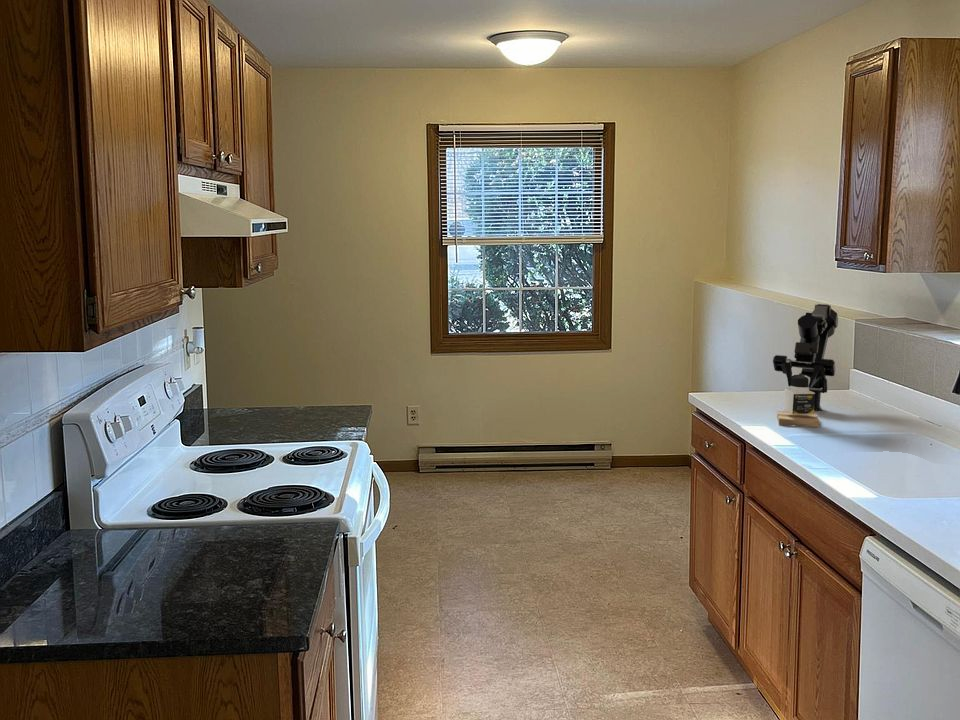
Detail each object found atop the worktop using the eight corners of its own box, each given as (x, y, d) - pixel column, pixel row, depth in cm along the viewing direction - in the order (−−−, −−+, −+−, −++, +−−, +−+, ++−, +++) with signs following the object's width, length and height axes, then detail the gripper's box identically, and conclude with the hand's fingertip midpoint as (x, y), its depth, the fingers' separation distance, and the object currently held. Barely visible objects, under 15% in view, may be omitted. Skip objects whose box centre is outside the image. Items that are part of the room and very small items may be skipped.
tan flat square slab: (776, 417, 313) (777, 411, 313) (815, 419, 310) (815, 413, 310) (779, 425, 302) (779, 418, 301) (819, 427, 299) (819, 421, 298)
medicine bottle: (792, 415, 302) (794, 377, 300) (782, 410, 309) (785, 373, 307) (813, 414, 302) (816, 377, 300) (804, 409, 309) (806, 373, 307)
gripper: (775, 330, 309) (766, 369, 301) (836, 334, 300) (828, 374, 293) (779, 350, 317) (770, 389, 310) (838, 355, 308) (830, 395, 301)
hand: (799, 386), depth 303 cm, fingers closed on medicine bottle, 6 cm apart
